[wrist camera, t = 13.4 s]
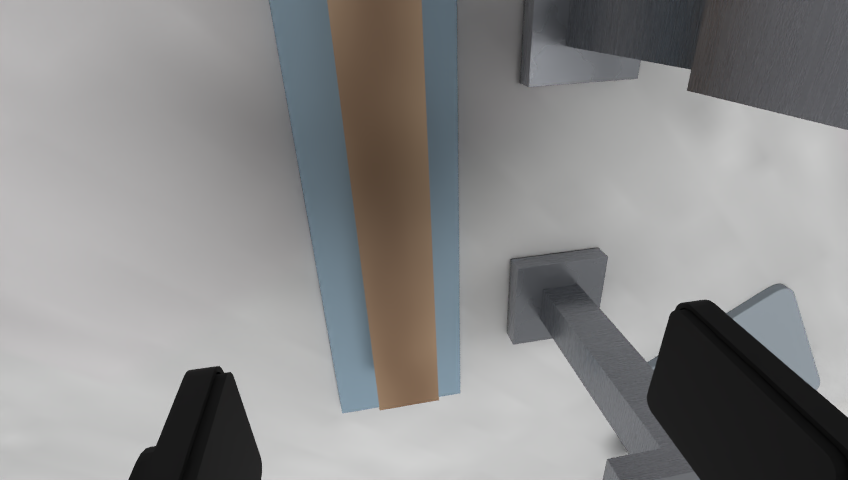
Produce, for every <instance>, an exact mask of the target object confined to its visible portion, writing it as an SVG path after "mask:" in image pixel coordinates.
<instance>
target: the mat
mask: <svg viewBox="0 0 848 480" xmlns="http://www.w3.org/2000/svg"><path fill="white" fill-rule="evenodd" d="M269 3H270V9H271V15H272V20H273V26H274V32H275V37H276V43H277V48H278V54H279V60H280V65H281V71H282V77H283V82H284V88H285V93H286V99H287V105H288V110H289V116H290V121H291V127H292V133H293V138H294V144H295V150H296V155H297V161H298V166H299V172H300V178H301V183H302V189H303V194H304V200H305V206H306V211H307V217H308V223H309V228H310V234H311V239H312V245H313V251H314V256H315V262H316V268H317V273H318V279H319V284H320V290H321V296H322V301H323V307H324V312H325V318H326V324H327V329H328V335H329V341H330V346H331V352H332V357H333V363H334V369H335V374H336V380H337V386H338V391H339V397H340V402H341V408H342V413H348V412H353V411H359V410H365V409H371V408H377V407H379V401H378V393H377V385H376V377H375V370H374V362H373V354H372V346H371V338H370V331H369V323H368V315H367V307H366V299H365V292H364V284H363V276H362V268H361V261H360V253H359V245H358V237H357V229H356V222H355V214H354V206H353V198H352V191H351V183H350V175H349V167H348V159H347V152H346V144H345V136H344V128H343V120H342V113H341V105H340V97H339V89H338V82H337V74H336V66H335V58H334V50H333V43H332V35H331V27H330V19H329V11H328V4H327V0H269ZM422 22H423V45H424V68H425V91H426V115H427V138H428V161H429V184H430V207H431V230H432V253H433V277H434V300H435V323H436V346H437V369H438V392H439V397H441V396H447V395H453V394H458V393H460V316H459V201H458V86H457V0H422Z"/></svg>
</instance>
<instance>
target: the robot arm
mask: <svg viewBox="0 0 848 480" xmlns="http://www.w3.org/2000/svg"><path fill="white" fill-rule="evenodd" d="M647 403H648V407H649V409H650V411H651V412H652V414H653V415H654V417H655V418H656V419H657V421H658V422H659V424H660V425H661V426H662V428H663V429H664V430H665V432H666V433H667V435H668V436H669V437H670V439H671V440H672V441H673V443H674V444H675V446H676V447H677V448H678V450H679V451H680V453H681V454H682V455H683V457H684V458H685V459H686V461H687V462H688V464H689V465H690V466H691V468H692V469H693V470H694V472H695V473H696V475H697V476H698V477H699V479H700V480H848V417H847V416H845V415H844V414H843V413H842V412H841V411H840V410H838V409H837V408H836V407H835V406H834V405H833V404H831V403H830V402H829V401H828V400H827V399H825V398H824V397H823V396H822V395H821V394H820V393H818V392H817V391H816V390H815V389H814V388H813V387H811V386H810V385H809V384H808V383H807V382H806V381H804V380H803V379H802V378H801V377H800V376H799V375H797V374H796V373H795V372H794V371H793V370H792V369H790V368H789V367H788V366H787V365H786V364H785V363H783V362H782V361H781V360H780V359H779V358H778V357H776V356H775V355H774V354H773V353H772V352H771V351H769V350H768V349H767V348H766V347H765V346H764V345H762V344H761V343H760V342H759V341H758V340H757V339H755V338H754V337H753V336H752V335H751V334H750V333H748V332H747V331H746V330H745V329H744V328H743V327H741V326H740V325H739V324H738V323H737V322H736V321H734V320H733V319H732V318H731V317H730V316H729V315H727V314H726V313H725V312H724V311H723V310H722V309H720V308H719V307H718V306H717V305H716V304H715V303H713V302H711V301H709V300H699V301H692V302H685V303H680V304H679V305H678V306H677V307H676V309H675V311H673V312H672V313H671V314H670V316H669V320H668V323H667V327H666V330H665V334H664V337H663V341H662V344H661V348H660V351H659V355H658V358H657V361H656V365H655V368H654V372H653V375H652V379H651V382H650V386H649V389H648V393H647ZM261 476H262V462H261V457H260V454H259V451H258V448H257V445H256V442H255V439H254V436H253V433H252V430H251V427H250V424H249V421H248V418H247V415H246V412H245V409H244V406H243V403H242V400H241V397H240V394H239V391H238V388H237V385H236V382H235V379H234V376H233V374H232V373H231V372H228V373H224V372H223V370H222V368H221V367H220V366H217V367H209V368H202V369H195V370H189V371H187V372H186V374H185V375H184V378H183V380H182V383H181V385H180V388H179V390H178V393H177V395H176V398H175V400H174V403H173V405H172V408H171V410H170V413H169V415H168V418H167V420H166V423H165V425H164V428H163V430H162V433H161V435H160V438H159V440H158V443H157V445H156V446H154V447H149V448H146V449H145V450H144V451H143V452H142V453H141V454H140V456H139V458H138V460H137V461H136V463H135V466H134V468H133V470H132V473H131V475H130V477H129V480H261Z"/></svg>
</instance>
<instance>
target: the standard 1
mask: <svg viewBox="0 0 848 480" xmlns="http://www.w3.org/2000/svg"><path fill="white" fill-rule="evenodd" d="M607 260H608V256H607V255H606V254H604V253H603V252H602V251H601V250H600V249H599V248H593V249H586V250H578V251H571V252H563V253H556V254H548V255H540V256H533V257H525V258H518V259H511V270H510V289H509V308H508V327H507V334H508V336H509V338H510V340H511V341H512V343H513V344H519V343H526V342H532V341H538V340H545V339H551V338H553V339H554V341H555V342H556V344H557V345H558V347H559V348H560V350H561V351H562V353H563V354H564V356H565V357H566V359H567V360H568V362H569V363H570V365H571V366H572V368H573V369H574V371H575V372H576V374H577V375H578V377H579V378H580V380H581V381H582V383H583V385H584V386H585V388H586V389H587V391H588V392H589V394H590V395H591V397H592V398H593V400H594V401H595V403H596V404H597V406H598V407H599V409H600V410H601V412H602V413H603V415H604V416H605V418H606V419H607V421H608V422H609V424H610V425H611V427H612V428H613V430H614V431H615V433H616V434H617V436H618V437H619V439H620V440H621V442H622V443H623V445H624V446H625V448H626V449H627V451H628V452H629V454H630V455H626V456H621V457H616V458H611V459H607V462H606V467H605V471H604V476H603V480H700V479H699V477H698V476H697V475H696V473H695V472H694V470H693V469H692V468H691V466H690V465H689V464H688V462H687V461H686V459H685V458H684V457H683V455H682V454H681V453H680V451H679V450H678V448H677V447H676V446H675V444H674V443H673V441H672V440H671V439H670V437H669V436H668V435H667V433H666V432H665V430H664V429H663V428H662V426H661V425H660V424H659V422H658V421H657V419H656V418H655V417H654V415H653V414H652V412H651V411H650V409H649V407H648V403H647V393H648V389H649V386H650V382H651V379H652V375H653V372H654V370H653V369H652V367H651V366H650V365H649V364H648V363H647V362H646V361H645V360H644V358H643V357H642V356H641V355H640V354H639V353H638V352H637V350H636V349H635V348H634V347H633V346H632V345H631V344H630V342H629V341H628V340H627V339H626V338H625V337H624V336H623V335H622V333H621V332H620V331H619V330H618V329H617V328H616V327H615V325H614V324H613V323H612V322H611V321H610V320H609V319H608V318H607V316H606V315H605V314H604V313H603V312H602V311H601V310H600V302H601V296H602V290H603V284H604V278H605V272H606V266H607Z"/></svg>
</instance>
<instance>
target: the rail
mask: <svg viewBox="0 0 848 480" xmlns="http://www.w3.org/2000/svg"><path fill="white" fill-rule="evenodd" d="M327 4H328V11H329V19H330V27H331V35H332V43H333V50H334V58H335V66H336V74H337V82H338V89H339V97H340V105H341V113H342V120H343V128H344V136H345V144H346V152H347V159H348V167H349V175H350V183H351V191H352V198H353V206H354V214H355V222H356V229H357V237H358V245H359V253H360V261H361V268H362V276H363V284H364V292H365V299H366V307H367V315H368V323H369V331H370V338H371V346H372V354H373V362H374V370H375V377H376V385H377V393H378V401H379V408H380V410H385V409H390V408H396V407H402V406H407V405H413V404H419V403H425V402H430V401H436V400H439V392H438V369H437V346H436V323H435V300H434V277H433V253H432V230H431V207H430V184H429V161H428V138H427V115H426V91H425V68H424V45H423V22H422V0H327Z"/></svg>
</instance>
